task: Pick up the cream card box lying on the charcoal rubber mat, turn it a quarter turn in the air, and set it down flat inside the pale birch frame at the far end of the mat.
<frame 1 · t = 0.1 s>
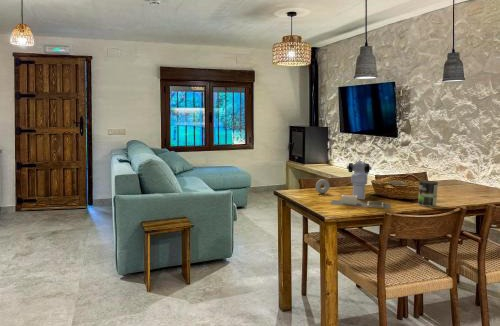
hand: (358, 168, 249), 22 cm above the table, tool horizontal, fingers open, 7 cm apart
mat: (360, 204, 251), on the table
coffee can: (427, 205, 252), on the table
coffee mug: (394, 197, 275), on the table
frame: (375, 205, 248), resting on mat
card box: (349, 203, 253), resting on mat
donut: (322, 194, 284), on the table
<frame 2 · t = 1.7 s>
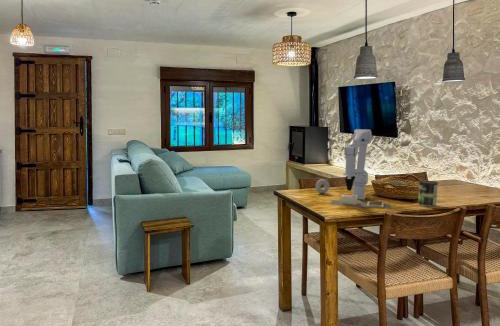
hand: (349, 189, 251), 9 cm above the table, tool pointing down, fingers open, 7 cm apart
nothing on the table moved.
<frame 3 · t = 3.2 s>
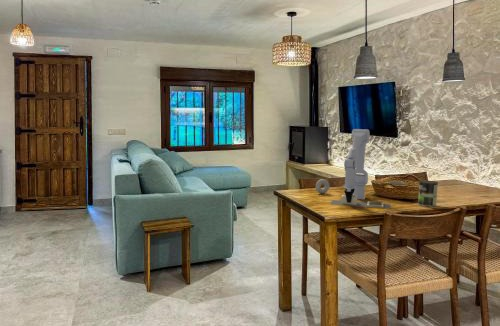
hand: (349, 201, 252), 2 cm above the table, tool pointing down, fingers closed on card box, 5 cm apart
card box: (349, 203, 253), resting on mat, touching gripper
everything else where it was.
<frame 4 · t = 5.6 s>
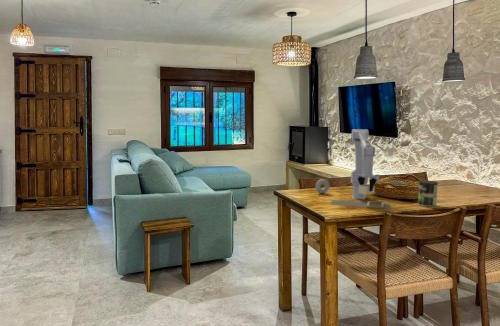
hand: (366, 190, 249), 9 cm above the table, tool pointing down, fingers closed on card box, 5 cm apart
card box: (366, 192, 249), point 8 cm above the table, touching gripper
everything else where it was.
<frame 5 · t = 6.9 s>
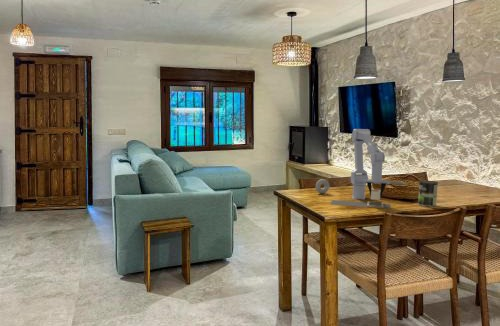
hand: (375, 195, 247), 6 cm above the table, tool pointing down, fingers closed on card box, 5 cm apart
card box: (375, 198, 247), point 5 cm above the table, touching gripper
everything else where it was.
when the fingers open (3 cm above the table, at t = 8.1 s): card box drops 1 cm, resting on mat.
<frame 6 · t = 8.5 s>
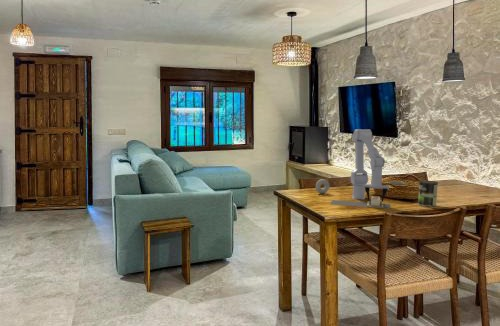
hand: (375, 200, 248), 3 cm above the table, tool pointing down, fingers open, 7 cm apart
card box: (375, 205, 248), resting on mat
everything else where it was.
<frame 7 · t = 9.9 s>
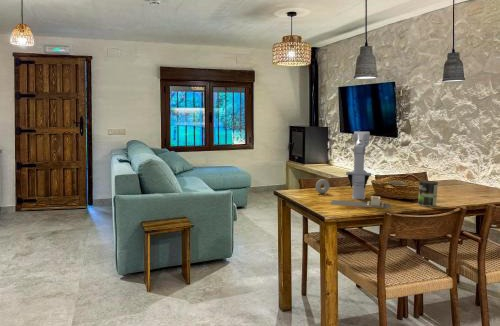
hand: (358, 187, 255), 9 cm above the table, tool pointing down, fingers open, 7 cm apart
nothing on the table moved.
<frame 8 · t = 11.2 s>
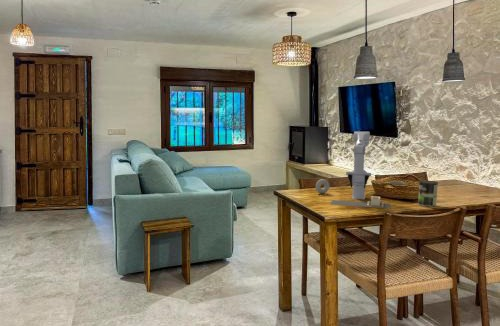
hand: (357, 187, 255), 9 cm above the table, tool pointing down, fingers open, 7 cm apart
nothing on the table moved.
at the end: card box 0.2 cm off-centre on the frame, point 0.0 cm above the frame's base; card box tilted 0°; the gripper is holding nothing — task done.
